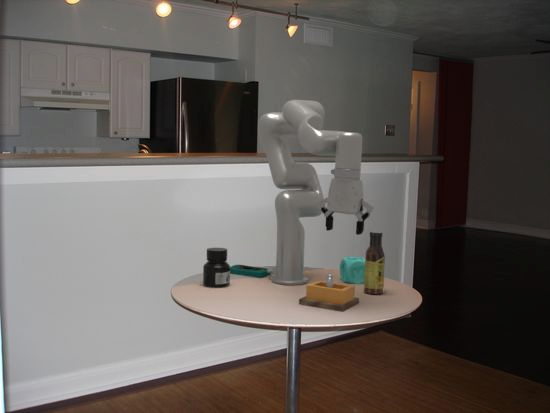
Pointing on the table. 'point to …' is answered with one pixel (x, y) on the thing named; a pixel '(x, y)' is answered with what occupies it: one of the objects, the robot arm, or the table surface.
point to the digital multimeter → (249, 271)
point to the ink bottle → (216, 268)
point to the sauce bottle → (374, 265)
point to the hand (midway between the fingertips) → (344, 231)
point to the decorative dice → (352, 270)
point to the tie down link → (330, 292)
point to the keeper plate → (327, 304)
